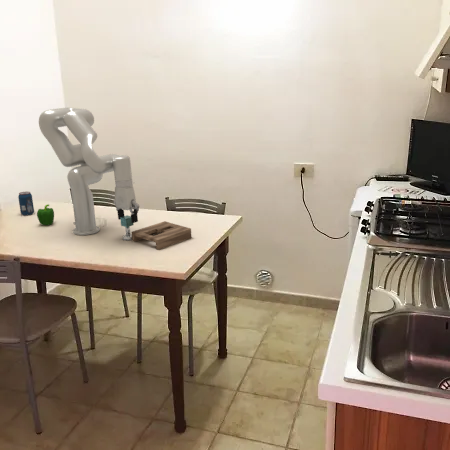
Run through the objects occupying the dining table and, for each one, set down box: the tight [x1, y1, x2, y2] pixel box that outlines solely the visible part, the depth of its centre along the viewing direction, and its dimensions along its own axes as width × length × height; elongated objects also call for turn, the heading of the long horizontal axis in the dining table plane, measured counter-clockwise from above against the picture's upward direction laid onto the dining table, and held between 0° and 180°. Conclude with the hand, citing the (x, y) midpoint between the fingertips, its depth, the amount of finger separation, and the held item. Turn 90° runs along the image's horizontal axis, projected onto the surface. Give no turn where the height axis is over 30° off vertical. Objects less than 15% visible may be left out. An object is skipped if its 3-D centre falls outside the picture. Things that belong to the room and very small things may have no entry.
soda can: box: [17, 191, 35, 217], centre depth 274 cm, size 7×7×12 cm
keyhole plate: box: [130, 221, 192, 251], centre depth 230 cm, size 18×20×4 cm
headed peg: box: [120, 214, 134, 242], centre depth 231 cm, size 5×5×10 cm
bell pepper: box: [36, 203, 55, 226], centre depth 255 cm, size 8×8×10 cm
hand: (128, 220), depth 229 cm, fingers open, 9 cm apart
